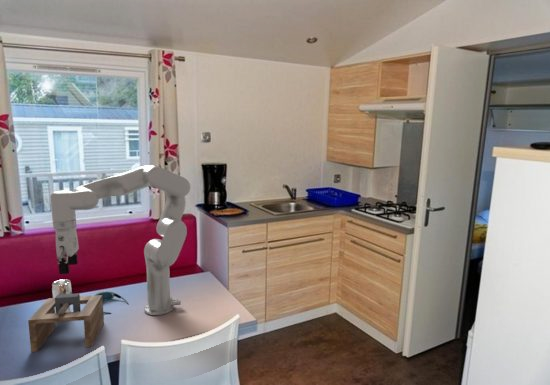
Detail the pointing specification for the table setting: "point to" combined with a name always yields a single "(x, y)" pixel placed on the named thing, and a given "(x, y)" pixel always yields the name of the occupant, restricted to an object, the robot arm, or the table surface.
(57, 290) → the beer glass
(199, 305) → the table surface
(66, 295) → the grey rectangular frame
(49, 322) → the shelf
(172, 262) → the robot arm
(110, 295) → the sunglasses
